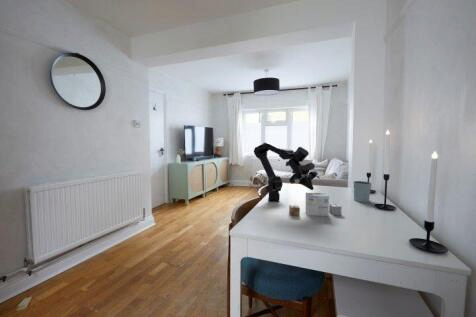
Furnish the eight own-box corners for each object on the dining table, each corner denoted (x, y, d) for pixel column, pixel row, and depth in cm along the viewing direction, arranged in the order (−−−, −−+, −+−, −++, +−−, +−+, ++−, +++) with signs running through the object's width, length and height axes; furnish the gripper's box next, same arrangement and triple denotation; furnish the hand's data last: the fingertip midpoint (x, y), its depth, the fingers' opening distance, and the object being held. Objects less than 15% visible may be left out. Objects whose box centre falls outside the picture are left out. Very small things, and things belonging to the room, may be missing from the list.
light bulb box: (325, 212, 117) (325, 192, 116) (329, 216, 110) (329, 195, 109) (304, 211, 118) (305, 192, 117) (307, 215, 111) (307, 195, 110)
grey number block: (332, 215, 112) (332, 205, 112) (329, 212, 117) (329, 203, 116) (341, 215, 112) (341, 206, 112) (337, 212, 117) (338, 203, 116)
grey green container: (349, 199, 142) (349, 181, 141) (359, 197, 146) (360, 180, 145) (363, 203, 133) (364, 184, 132) (374, 201, 137) (375, 182, 136)
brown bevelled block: (290, 216, 111) (290, 206, 110) (289, 213, 115) (289, 204, 115) (299, 216, 110) (299, 207, 110) (297, 213, 115) (297, 204, 114)
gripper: (293, 158, 113) (311, 182, 105) (315, 157, 124) (332, 178, 116) (282, 171, 120) (298, 195, 112) (303, 169, 131) (319, 190, 123)
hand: (312, 189), depth 115 cm, fingers closed
